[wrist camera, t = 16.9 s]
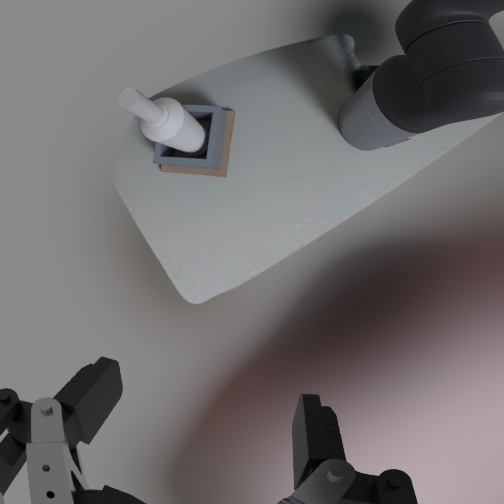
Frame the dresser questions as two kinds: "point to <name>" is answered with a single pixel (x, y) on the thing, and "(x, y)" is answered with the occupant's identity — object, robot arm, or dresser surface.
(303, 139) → the dresser surface
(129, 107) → the bottle
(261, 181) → the dresser surface
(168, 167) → the sleeve
